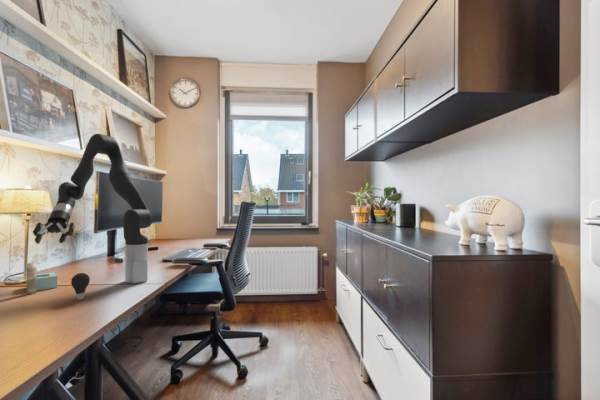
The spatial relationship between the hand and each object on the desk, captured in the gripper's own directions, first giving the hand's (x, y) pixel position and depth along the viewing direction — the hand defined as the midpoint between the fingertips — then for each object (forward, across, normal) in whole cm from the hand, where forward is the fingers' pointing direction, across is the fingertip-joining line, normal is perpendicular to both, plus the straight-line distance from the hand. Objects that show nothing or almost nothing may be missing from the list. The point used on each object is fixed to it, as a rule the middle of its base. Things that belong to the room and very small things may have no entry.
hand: (49, 242), depth 133 cm
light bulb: (+33, +21, -7) cm, 39 cm away
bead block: (+16, 0, +10) cm, 19 cm away
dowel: (+22, 0, +4) cm, 23 cm away
